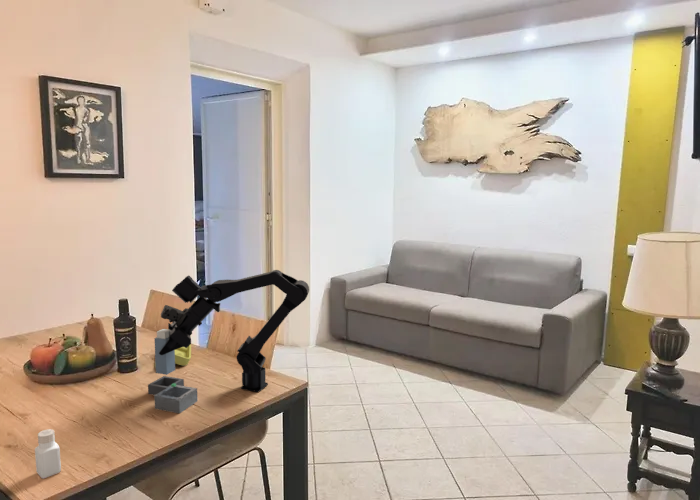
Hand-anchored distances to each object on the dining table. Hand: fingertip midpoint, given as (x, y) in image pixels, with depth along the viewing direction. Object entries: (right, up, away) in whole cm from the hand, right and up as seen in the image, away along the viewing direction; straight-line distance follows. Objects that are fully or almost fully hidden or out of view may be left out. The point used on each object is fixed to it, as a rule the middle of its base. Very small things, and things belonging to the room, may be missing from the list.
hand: (159, 351), depth 152 cm
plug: (+1, -7, +1) cm, 7 cm away
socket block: (+8, -14, -7) cm, 18 cm away
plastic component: (-6, -9, +31) cm, 33 cm away
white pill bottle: (-9, -19, -41) cm, 46 cm away
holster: (+1, -13, +2) cm, 13 cm away
